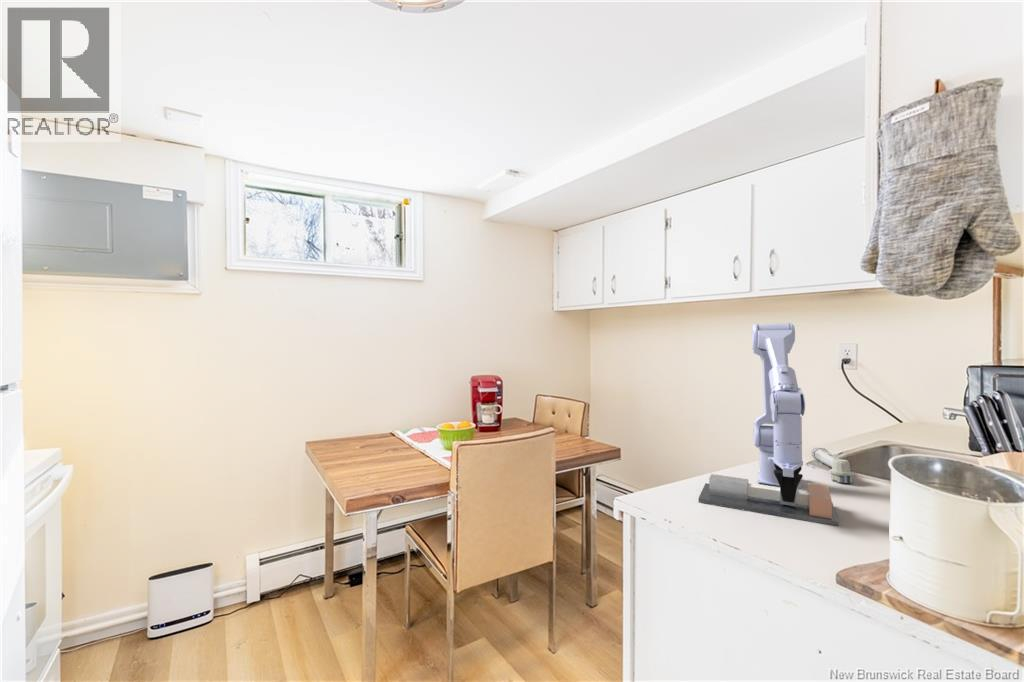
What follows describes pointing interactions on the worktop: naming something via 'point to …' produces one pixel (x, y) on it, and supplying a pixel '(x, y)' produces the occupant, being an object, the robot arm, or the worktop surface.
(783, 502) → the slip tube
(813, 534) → the worktop surface
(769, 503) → the sleeve base
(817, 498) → the socket block
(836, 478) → the handheld shower head
